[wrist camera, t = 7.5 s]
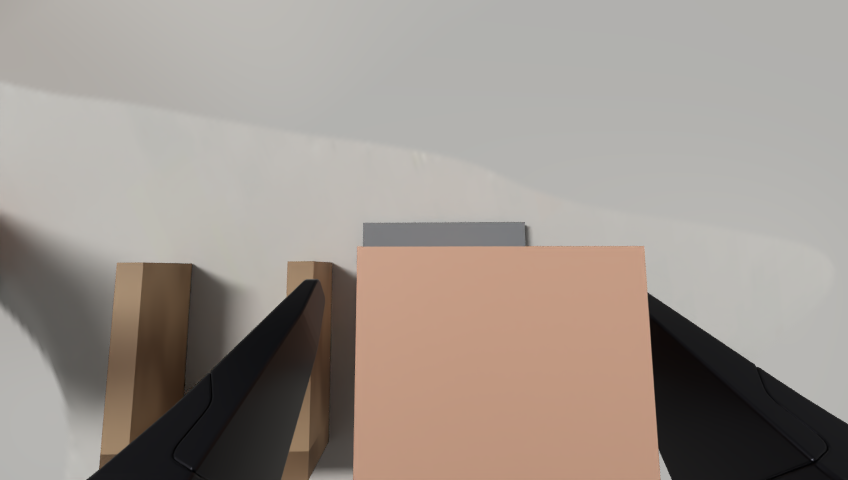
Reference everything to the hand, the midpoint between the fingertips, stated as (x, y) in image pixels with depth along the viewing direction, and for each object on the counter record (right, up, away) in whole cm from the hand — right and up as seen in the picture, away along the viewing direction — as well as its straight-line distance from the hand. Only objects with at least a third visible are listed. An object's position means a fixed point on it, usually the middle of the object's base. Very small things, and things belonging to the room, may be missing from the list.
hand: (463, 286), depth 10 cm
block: (0, -2, +7) cm, 7 cm away
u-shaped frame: (-11, -4, +7) cm, 14 cm away
